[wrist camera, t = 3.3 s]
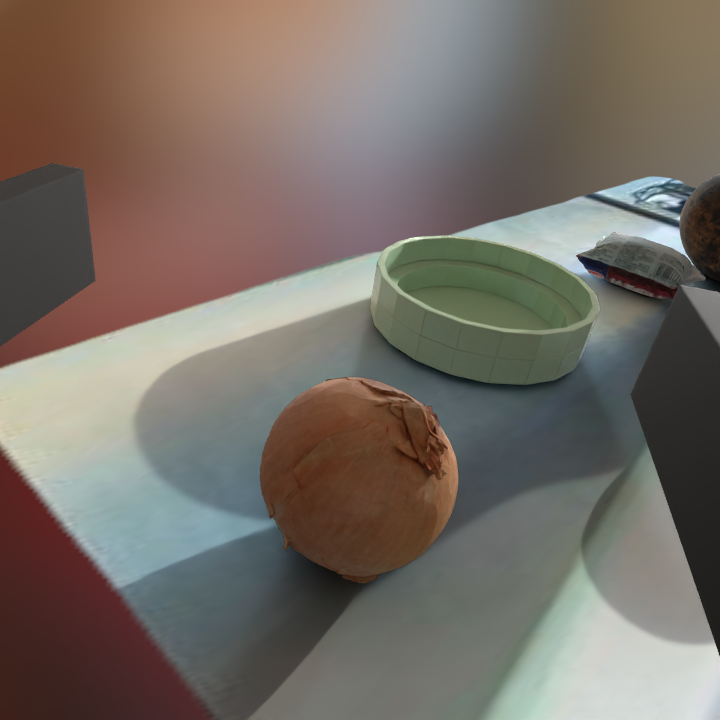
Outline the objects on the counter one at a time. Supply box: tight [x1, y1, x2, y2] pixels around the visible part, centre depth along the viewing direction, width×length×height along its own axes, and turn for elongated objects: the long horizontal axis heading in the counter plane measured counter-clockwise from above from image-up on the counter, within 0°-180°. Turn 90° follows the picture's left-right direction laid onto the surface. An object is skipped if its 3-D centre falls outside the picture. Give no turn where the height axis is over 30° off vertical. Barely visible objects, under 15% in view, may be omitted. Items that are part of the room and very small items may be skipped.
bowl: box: [370, 236, 600, 385], centre depth 51 cm, size 18×18×5 cm
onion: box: [260, 377, 458, 583], centre depth 29 cm, size 10×9×10 cm
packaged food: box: [576, 232, 706, 300], centre depth 66 cm, size 9×12×5 cm
